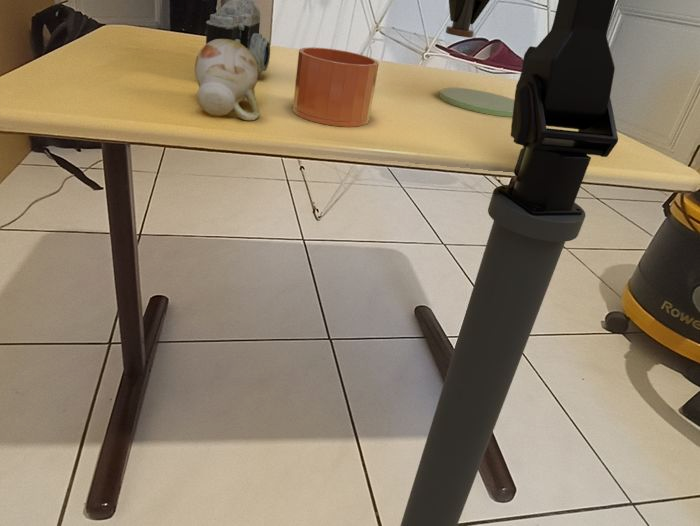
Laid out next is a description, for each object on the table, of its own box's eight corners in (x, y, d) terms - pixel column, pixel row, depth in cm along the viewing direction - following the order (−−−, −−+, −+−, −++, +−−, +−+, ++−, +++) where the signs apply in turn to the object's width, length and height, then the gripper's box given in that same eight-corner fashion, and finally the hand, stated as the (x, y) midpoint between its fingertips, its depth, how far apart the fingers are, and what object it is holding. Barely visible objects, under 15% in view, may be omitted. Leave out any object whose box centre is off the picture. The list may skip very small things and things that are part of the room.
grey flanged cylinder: (477, 38, 77) (486, 0, 75) (453, 35, 76) (462, -3, 74) (463, 34, 80) (472, -3, 78) (440, 31, 79) (448, -6, 77)
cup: (380, 128, 67) (391, 68, 64) (305, 124, 64) (312, 60, 60) (352, 106, 75) (361, 52, 71) (284, 102, 71) (290, 44, 68)
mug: (180, 119, 59) (172, 23, 59) (210, 137, 68) (204, 55, 68) (249, 112, 58) (242, 16, 58) (270, 132, 68) (264, 49, 68)
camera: (250, 91, 73) (256, 9, 68) (200, 82, 73) (202, -1, 68) (274, 72, 86) (280, 2, 81) (231, 64, 86) (234, -7, 81)
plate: (544, 119, 87) (545, 114, 86) (467, 114, 82) (469, 108, 81) (494, 95, 98) (495, 91, 98) (424, 89, 93) (425, 84, 92)
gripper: (516, -95, 80) (487, 22, 87) (399, -123, 73) (378, 6, 80) (566, -97, 71) (529, 33, 78) (438, -130, 64) (411, 17, 71)
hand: (461, 22), depth 77 cm, fingers closed on grey flanged cylinder, 2 cm apart
